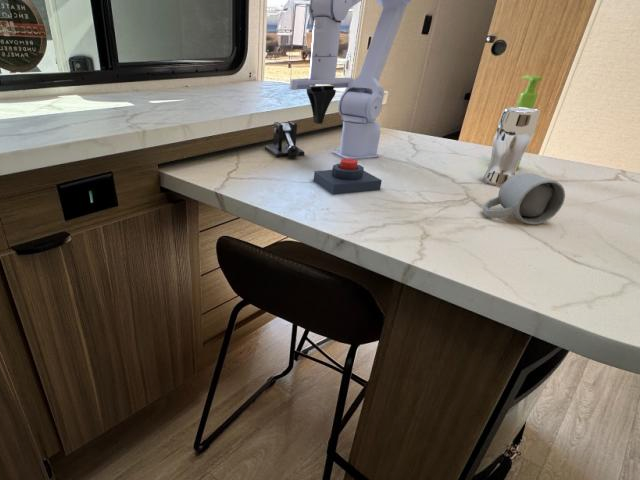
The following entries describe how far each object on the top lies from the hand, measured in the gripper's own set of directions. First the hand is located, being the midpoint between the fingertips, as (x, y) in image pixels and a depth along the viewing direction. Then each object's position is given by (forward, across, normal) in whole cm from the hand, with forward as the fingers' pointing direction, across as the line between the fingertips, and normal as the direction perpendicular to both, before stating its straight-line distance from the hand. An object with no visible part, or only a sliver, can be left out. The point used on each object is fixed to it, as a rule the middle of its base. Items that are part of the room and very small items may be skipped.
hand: (317, 123), depth 97 cm
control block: (+10, -1, +15) cm, 18 cm away
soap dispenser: (+11, -46, +12) cm, 49 cm away
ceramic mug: (+11, -22, +40) cm, 47 cm away
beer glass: (+11, -35, +22) cm, 43 cm away
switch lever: (+8, +2, -13) cm, 16 cm away
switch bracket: (+10, +2, -16) cm, 19 cm away
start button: (+7, -1, +15) cm, 16 cm away
